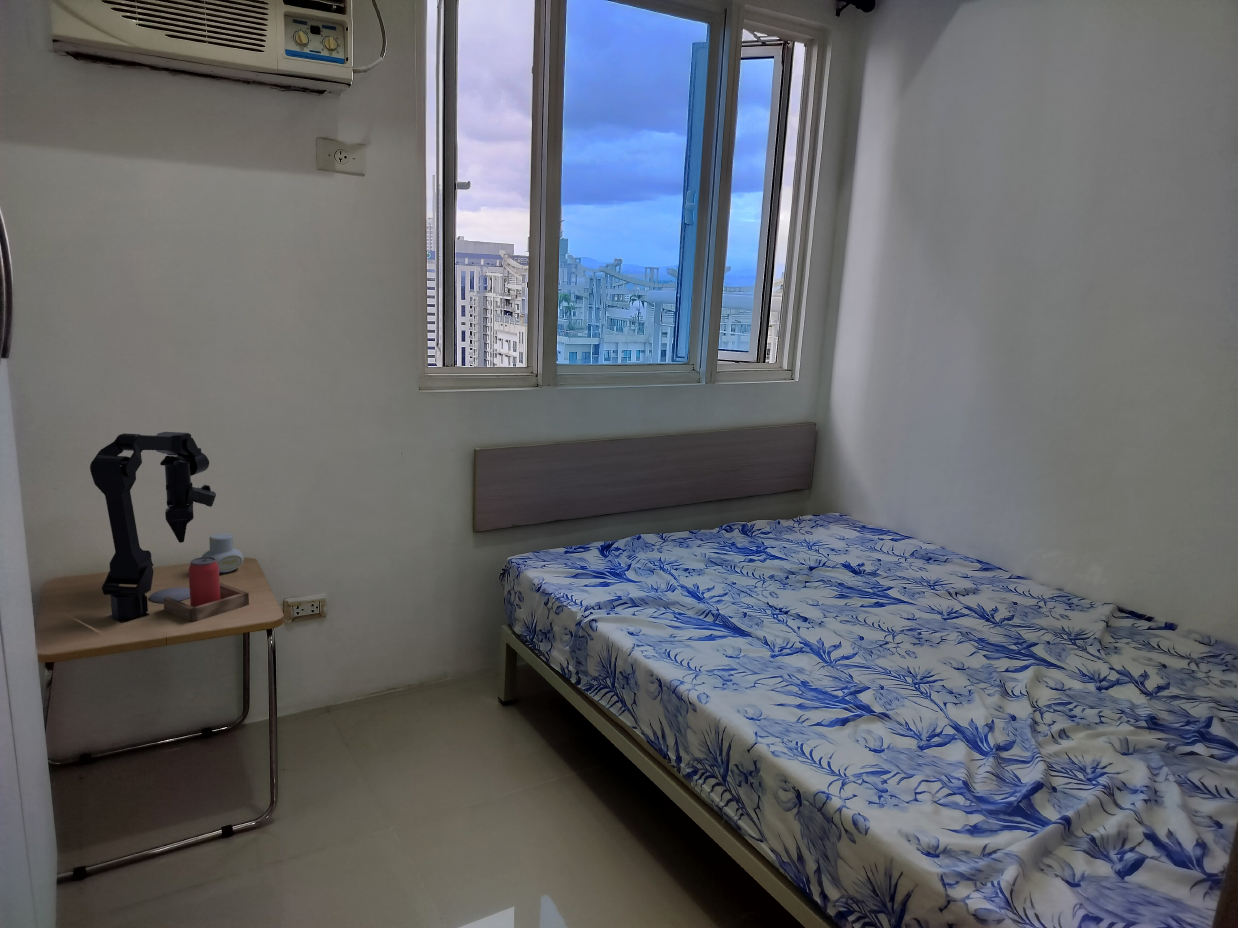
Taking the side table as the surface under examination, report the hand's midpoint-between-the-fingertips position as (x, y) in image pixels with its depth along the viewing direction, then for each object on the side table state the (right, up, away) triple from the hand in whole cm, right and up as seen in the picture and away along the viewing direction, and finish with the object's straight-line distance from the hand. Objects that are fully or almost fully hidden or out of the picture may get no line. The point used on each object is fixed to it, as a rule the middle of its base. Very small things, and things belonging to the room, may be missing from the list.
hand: (181, 537), depth 208 cm
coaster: (+2, -14, -7) cm, 16 cm away
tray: (+13, -16, -13) cm, 24 cm away
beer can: (+13, -16, -13) cm, 24 cm away
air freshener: (+4, -11, +14) cm, 18 cm away
